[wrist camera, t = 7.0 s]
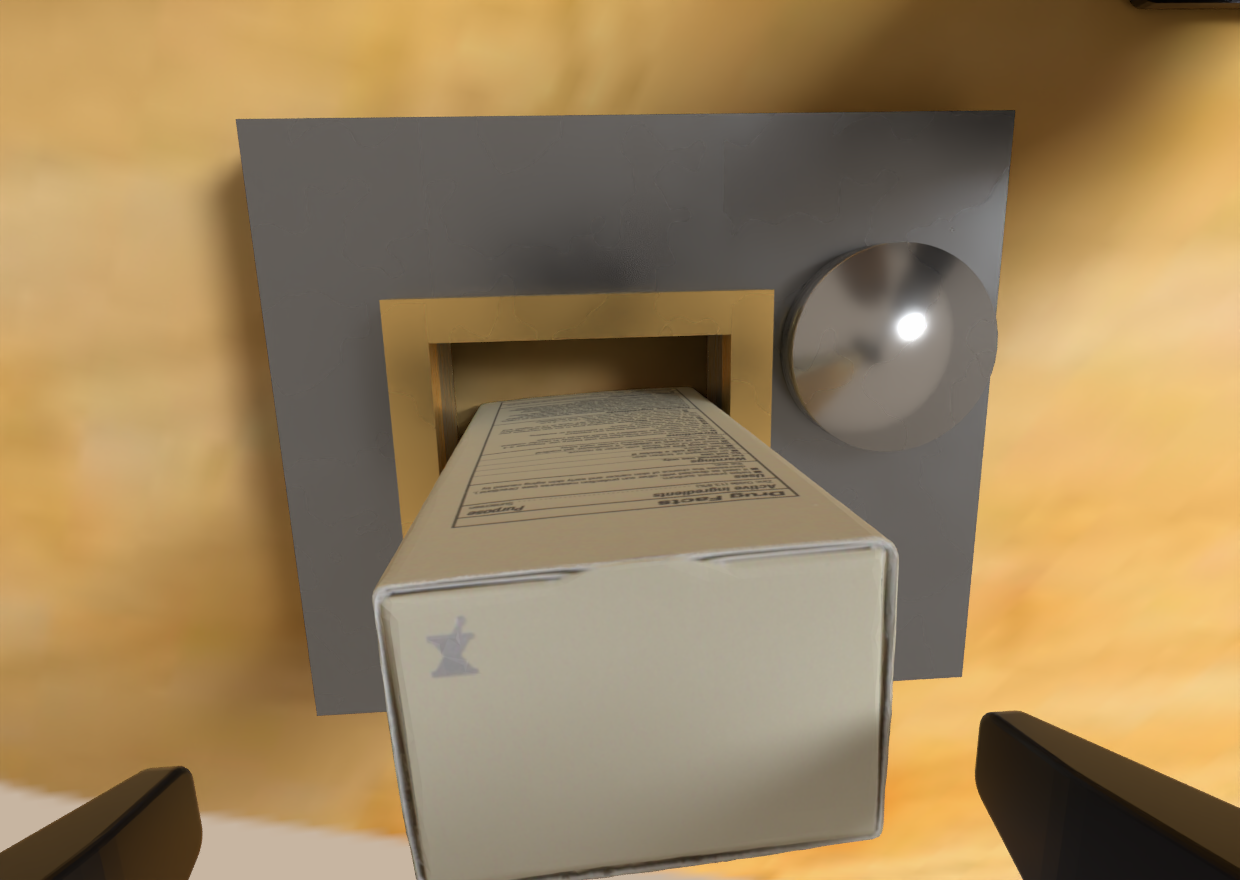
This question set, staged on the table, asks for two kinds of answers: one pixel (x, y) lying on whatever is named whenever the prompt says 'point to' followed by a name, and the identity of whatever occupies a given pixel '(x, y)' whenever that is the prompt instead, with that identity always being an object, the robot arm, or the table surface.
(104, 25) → the table surface
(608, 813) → the skincare box
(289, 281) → the grey slotted board
